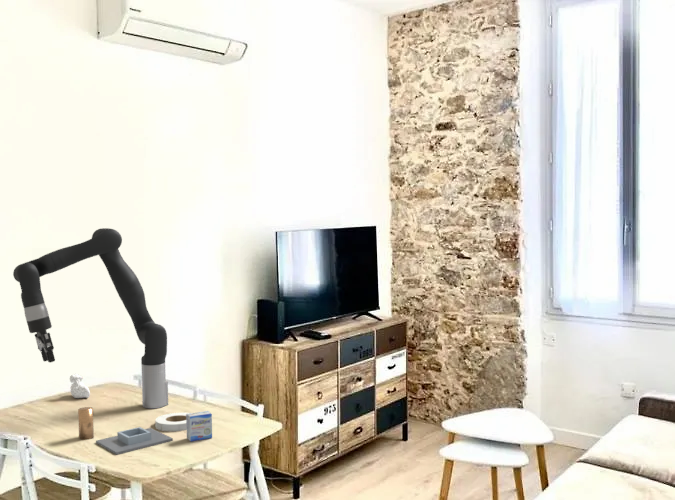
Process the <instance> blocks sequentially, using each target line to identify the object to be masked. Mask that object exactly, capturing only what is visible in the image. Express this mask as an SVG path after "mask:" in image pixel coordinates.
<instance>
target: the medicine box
mask: <svg viewBox="0 0 675 500" xmlns="http://www.w3.org/2000/svg"><path fill="white" fill-rule="evenodd" d="M189 413H190V414H186V426H187V430H186V439H187V440H188V441H189V442H197V441H202V440H208V439H212V438H213V416H212V415H213V414H212V413H211V412H210V411H209V410H207V411H206V410H205V411H198V412H189Z"/></svg>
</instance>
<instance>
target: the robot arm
mask: <svg viewBox="0 0 675 500" xmlns="http://www.w3.org/2000/svg"><path fill="white" fill-rule="evenodd" d="M122 243H123V238H122V235H121V233H120V232H119V231H118V230H116V229H114V228H109V227H108V228H107V227H106V228H103V227H102V228H98V229H96V230H95V231H94V232H93V233H92V235H91V238H90V239H88V240H85V241H83V242H81V243H78V244H73V245H71V246H65V247H63V248H59V249H57V250H54V251H51V252H49V253H46V254H44V255H42V256H40V257H38V258H35V259H32V260H29V261H25V262H24V263H20V264H18V265H17V266H16V267H15V268H14V269H13V272H12V273H13V274H12V275H13V278H14V280H15V281H16V282H18V283H19V286H20V290H21V293H20V299H21V302H22V307H23V311H24V316H25V321H26V324H27V326H28V331H29V333H30V334H34V337H35V338H34V339H35V341H36V345H37V349H38V350H39V351H40V353H41V357H42V360H43V362H48V363H53V362H55V361H56V357H55V355H54V354H55V353H54V348H55V347H54V344H53V340H52V338H51V333H50V332H48V331H47V330H49V329H51V328H52V326H53V325H52V322H51V318H50V314H49V310H48V308H47V306H46V303H45V302H46V301H45V299H44V296H43V293H42V292H43V291H42V287H41V280H40V278H41V277H43V276H45V275H49V274H53V273H56V272H57V271H61V270H62V269H65V268H68V267H69V266H72V265H75V264H77V263H79V262H81V261H84V260H87V259H90V258H92V257H97V256H98V257H99V258H100V259H101V261H102V262H103V264H104V266H105V268H106V270H107V271H106V272H108V275H109V277H110V280H111V281H112V285H114V289H115V290H116V293H117V294H118V297H119V299H120V300H121V302H122V304H123V306H124V308H125V310H126V311H127V313H128V315H129V317H130V318H131V321H132V324H133V327H134V329H135V333H136V335H137V337H138V340H139V341H140V342H141V343H142V344H143V345H144V354H143V355H142V356H141V359H140V360H141V361H140V362H141V363H140V364H141V389H142V390H141V391H142V392H141V393H142V394H141V395H142V396H141V397H142V401H141V402H142V408H145V409H158V408H160V409H161V408H163V407H166V406H167V405H169V386H168V385H169V382H168V380H166V376H167V375H166V357H167V355H168V354H167V353H168V334H167V330H166V328H165V327H164V326H163V325H161V324H158V323H155V321H154V320H153V318H152V316H151V314H150V312H149V310H148V308H147V303H146V297H145V295H146V294H145V291H144V289H143V285H141V284H142V283H141V282H140V280H139V278H138V277H137V274H136V273H135V272H134V271H133V269H132V268H131V267H130V266H129V264H127V262H126V261H125V260H124V258H123V257H122V255H121V252H120V249H119V248H120V247H121V245H122Z"/></svg>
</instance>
